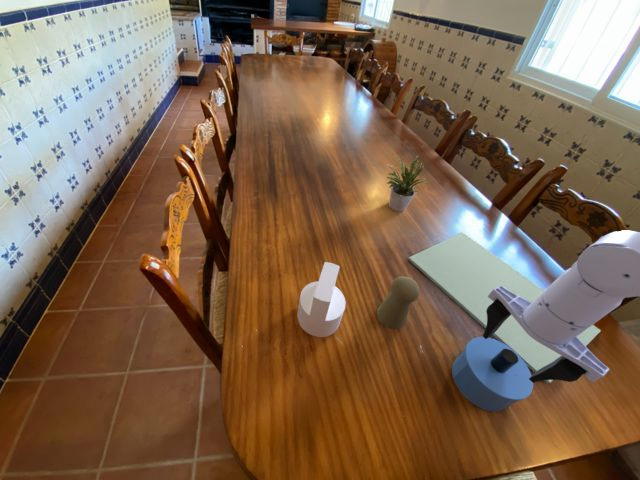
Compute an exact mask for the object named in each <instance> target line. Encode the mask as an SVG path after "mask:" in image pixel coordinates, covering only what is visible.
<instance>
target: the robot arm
mask: <svg viewBox="0 0 640 480" xmlns="http://www.w3.org/2000/svg"><path fill="white" fill-rule="evenodd" d="M488 297H489V298H490V299H491V300H492V301H494V302H493V303H492V304H491V305H489V306H488V308H487V310H486V312H487V326H486V329H485V328H484V332H483V334H482V337H484V338H485V339H487V338H491V336H493V335H492V334H494V333H495V332H496V331H497V330H498V328H499V327H500V326H501V325H502V323H503V322H504V321H505V320H506V319H507V318H508V317H509V316H510V315H511V314H512V316H513V317H514V318H515V319H516V321H517V322H518V323H519V324H520V325H521V327H522V328H523V329H524V330H525V331H526V333H527V334H528V335H529V336H531V337H532V338H533V339H534V340H536V341H537V342H539V343H541V344H542V345H544V346H546V347H548V348H549V349H551V350H553V351H555V352H556V353H558V354H560V355H561V356H560V357H559V358H557V359H556V360H555V361H553V362H552V363H550V364H548V365H546V366H544V367H543V368H541V369H539V370H538V371H537V372H535V373H534V372H533V374H531V375H532V376H531V377H530V378H529V380H530V381H531V382H533V384H535V383H537V382H542V381H543V380H553V381H562V382H566V383H572V382H575V381H576V382H577V380H579V379H580V378H581V377H582V376H584V377H585V378H586V379H587V380H588V381H590V382H591V383H595V382H596V381H598V380H600V379H602V378H604V377H605V376H606V374H607V373H608V372H609V371H610V370H611V369H610V367H608V366H607V365H605V364H604V363H603V362H602V361H601V360H600V359H598V357H597V356H596V355H595V354H594V353H593V352H592V351H591V350H590V349H589V348H588V347H587V346H585V345H584V344H583V343H582V342H581V341H580V340H579V339H578V338H577V337H576V336H578V335H579V334H581V333H582V332H583V331H585V330H586V329H588V328H589V327H590V326H592V325H595V324H596V323H598V322H599V321H600V320H601V319H602V318H604V317H606V316H607V315H609V314H610V313H611V312H612V311H614V310H615V309H617V308H618V307H620V306H621V304H622V302H623V300H624V299H625V298H635V297H640V231H634V230H621V231H612V232H610V233H607V234H605V235H601V236H600V237H599V238H598V239H597V240H596V241H595V242H593V243H592V244H591V245H589V246H588V247H587V248H585V249H584V250H583V251H582V252H581V253H580V255H579V256H578V258H577V261H575V262H574V263H573V264H572V265H571V267H570V268H567V269H566V270H564V271H563V272H562V273H561V274H560V275H559V276H558V277H557V278H556V279H555V280H553V282H552V283H551V284H550V285H549V286H548V287H546V289H544V292H543V293H542V294H541V295H540V296H538V297H537V298H536V299H535V300H534V301H533V302H532V303H531V302H529V301H527V300H526V299H524V298H522V297H520V296H518V295H516V294H514V293H512V292H510V291H509V290H507V289H506V288H504V287H503V286H501V285H499V286H498V287H496V288H495V289H493V290H492V292H491V293H490V294H489V295H488ZM543 382H544V381H543Z"/></svg>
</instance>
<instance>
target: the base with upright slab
mask: <svg viewBox="0 0 640 480" xmlns="http://www.w3.org/2000/svg"><path fill="white" fill-rule="evenodd" d="M339 272H340V265H338V264H336V263H333V262H327V261H324V263H323V266H322V269H321V272H320V276H319V278H318V281H313V282H310V283H307V284H306V285H305V286H304V287H303V288H302V290H301V292H300V296H299V300H298V307H297V312H296V313H297V314H296V317H297V322H298V325H299V326H300V328H301V329H302V330H303V331H304V332H305V333H307V334H309V335H310V336H312V337H317V338H326V337H330V336H332V335H333V334H335V333H336V332H337V330H338V329H339V328H340V325H341V321H342V319H343V316H344V311H345V310H346V302H347V301H346V298H345V295H344V293H343V292H342V291H341V289H340V288H338V287H337V286H336V283H337V279H338V275H339Z"/></svg>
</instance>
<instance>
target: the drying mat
mask: <svg viewBox="0 0 640 480" xmlns="http://www.w3.org/2000/svg"><path fill="white" fill-rule="evenodd" d="M407 260H408V261H409V262H410V263H411V264H412V265H413V266H415V267H416V269H418V270H419V271H420V272H422V273H423V274H424V275H425V276H426V277H427V278H428V279H429V280H430V281H431V282H432V283H434V284H435V285H436V286H437V287H438V288H439V289H441V290H442V292H444V293H445V294H446V295H447V296H448V297H449V298H450V299H451V300H452V301H454V302H455V303H456V304H457V305H458V306H459V307H461V309H463V310H464V311H465V312H466V313H467V314H468V315H469V316H470V317H472V318H473V320H474V321H476V322H477V323H478V324H479V325H481V326H482V328H483V329H484V330H485V329H486V326H487V312H486V310H487V308H488V306H489V305H491V304H492V303H493V302H494V301H492V300H491V299H490V298H489V297H488V295H489V294H490V293H491V292H492V290H493V289H495V288H496V287H498V286H499V285H501V286H503V287H504V288H506V289H507V290H509V291H510V292H512V293H514V294H516V295H518V296H520V297H522V298H524V299H526V300H527V301H529V302H531V303H532V302H533V301H534V300H535V299H536V298H537V297H538V296H540V295H541V294H542V293H543V292H544V291H545V289H543V288H542V287H541V286H539V285H538V284H536V283H534V282H533V281H532V280H531V279H529V278H528V277H526V276H525V275H524V274H522V273H521V272H519V271H518V270H516V269H515V268H513V267H512V266H511V265H509V264H508V263H506V262H505V261H504V260H502V259H501V258H499V257H498V256H496V255H495V254H494V253H492V252H491V251H490V250H488V249H487V248H485V247H484V246H482V245H481V244H480V243H478V242H477V241H475V240H474V239H473V238H471V237H470V236H468V235H467V234H465V233H464V232H463V231H462V232H459V233H457V234H455V235H453V236H451V237H449V238H447V239H445V240H442V241H441V242H438V243H436V244H434V245H432V246H430V247H428V248H425V249H424V250H421V251H419V252H417V253H415V254H413V255H410V256H409V257H408V258H407ZM601 331H602V330H601V329H600V328H598V327H597V326H595V324H593V325H592V326H590V327H589V328H588V329H586V330H585V331H583V332H582V333H581V334H579V335H578V336H576V337H577V338H578V339H579V340H580V341H581V342H582V343H583V344H584V345H585V346H586V347H587V346H588V345H589V344H590V343H591V342H592V341H593V340H594V339H595V338H596V337H597V336H598V335H599V334H600V333H601ZM491 336H492V337H494V339H495V340H497V341H500V342H501V343H503V344H505V345H507V346H508V347H509V348H511V349H512V350H513V351H514V352H516V353H517V354H518V355H519V356H520V357H521V359H522V360H523V361H524V362H525V364H526V365H527V367H528V369H529V370H531V371H532V372H533V374H534V373H535V372H537V371H538V370H539V369H541V368H543V367H544V366H546V365H548V364H550V363H552V362H553V361H555V360H556V359H557V358H559V357H560V356H561V355H560V354H558V353H556V352H555V351H553V350H551V349H549V348H548V347H546V346H544V345H542V344H541V343H539V342H537V341H536V340H534V339H533V338H532V337H531V336H529V335H528V334H527V333H526V331H525V330H524V329H523V328H522V327H521V325H520V324H519V323H518V322H517V321H516V319H515V318H514V317H513V316H512V314H511V315H510V316H509V317H508V318H507V319H506V320H505V321H504V322H503V323H502V325H501V326H500V327H499V328H498V330H497V331H496V332H495V333H494V334H492V335H491ZM553 381H554V380H543V382H544V383H545V384H547V385H549V384H551V383H552V382H553Z"/></svg>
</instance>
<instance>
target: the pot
mask: <svg viewBox="0 0 640 480" xmlns="http://www.w3.org/2000/svg"><path fill="white" fill-rule="evenodd" d="M451 374H452V378H453V381H454V383H455V385H456V387H457V389H458V390H459V392H460V393H461V394H462V395H463V396H464V398H465V399H467V400H468V401H469V402H470V403H471V404H473V405H474V406H476V407H478V408H480V409H481V410H484V411H486V412H493V413H495V412H501V411H504V410H506V409H508V408H509V407H511V406H512V405H514V404H515V403H517V402H518V401H513V400H507V399H504V398H501V397H499V396H497V395H495V394H493V393H492V392H490V391H489V390H487V389H486V388H485V387H484V386H483V385H481V384H480V383H479V382H478V380H477V379H476V378H475V377H474V376H473V374H472V373H471V371H470V369H469V367H468V365H467V363H466V359H465V348H464V349H463V350H462V351H461V353H459V354H458V355H457V356H456V358H455V359H454V361H453V363H452V366H451Z"/></svg>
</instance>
